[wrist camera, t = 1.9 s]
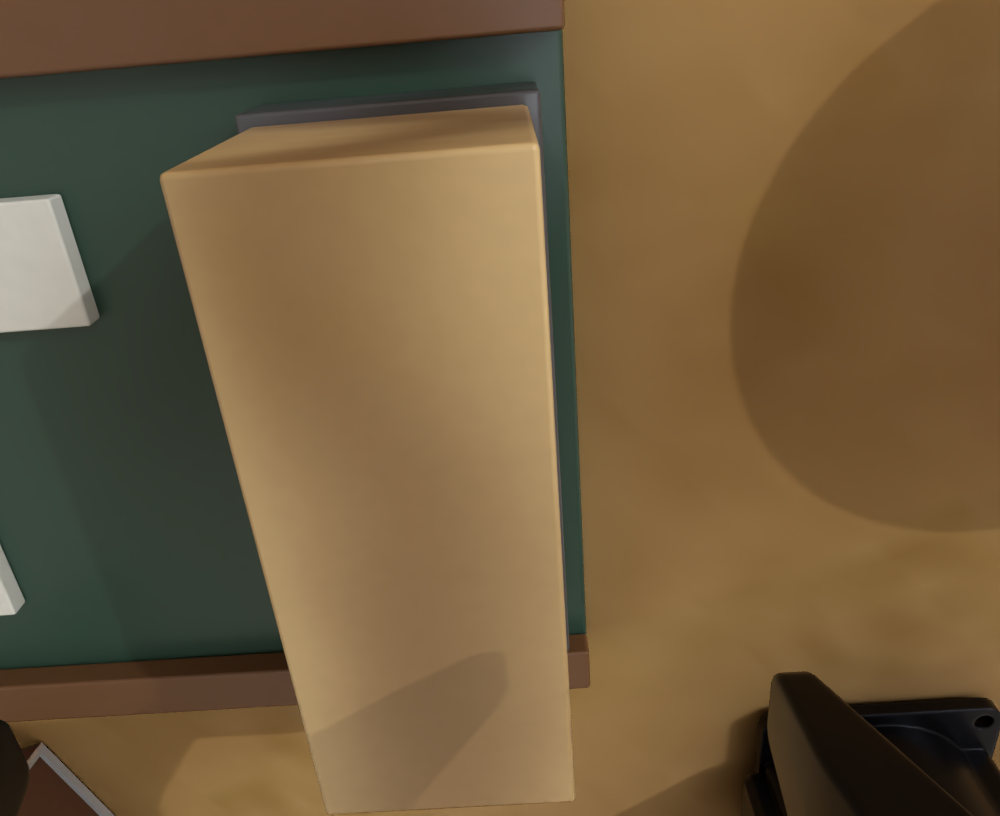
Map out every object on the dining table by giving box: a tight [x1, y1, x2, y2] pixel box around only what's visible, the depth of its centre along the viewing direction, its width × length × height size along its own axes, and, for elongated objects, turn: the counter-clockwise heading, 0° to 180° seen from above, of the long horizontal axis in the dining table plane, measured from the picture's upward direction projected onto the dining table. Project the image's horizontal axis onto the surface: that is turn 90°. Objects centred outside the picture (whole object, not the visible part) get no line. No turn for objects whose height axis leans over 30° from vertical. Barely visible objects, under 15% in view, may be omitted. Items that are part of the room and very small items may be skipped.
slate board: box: [0, 0, 590, 722], centre depth 17 cm, size 22×16×2 cm
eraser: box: [160, 82, 575, 815], centre depth 15 cm, size 5×12×6 cm, turn 4°
